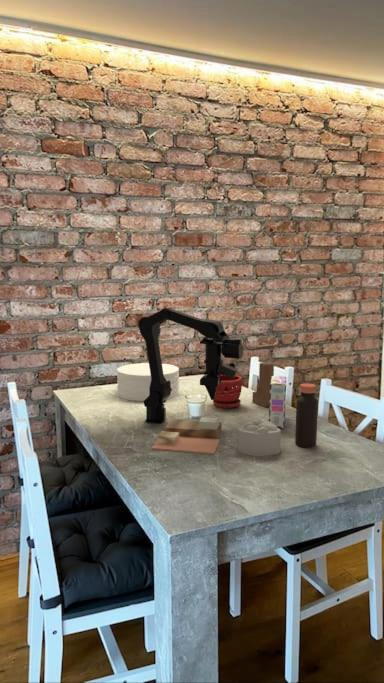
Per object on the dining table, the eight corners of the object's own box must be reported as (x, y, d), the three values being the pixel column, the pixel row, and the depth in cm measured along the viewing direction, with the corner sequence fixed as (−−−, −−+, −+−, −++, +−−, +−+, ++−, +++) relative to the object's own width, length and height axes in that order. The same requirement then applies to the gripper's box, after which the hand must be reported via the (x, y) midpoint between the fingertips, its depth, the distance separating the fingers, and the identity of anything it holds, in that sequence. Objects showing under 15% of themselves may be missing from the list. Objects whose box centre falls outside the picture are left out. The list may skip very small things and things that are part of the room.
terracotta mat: (152, 449, 160) (152, 447, 160) (162, 436, 172) (162, 434, 172) (214, 454, 156) (214, 452, 156) (219, 440, 168) (220, 439, 168)
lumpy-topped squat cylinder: (283, 454, 156) (284, 427, 155) (242, 457, 154) (243, 429, 152) (271, 442, 166) (272, 417, 165) (233, 445, 164) (234, 419, 162)
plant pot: (233, 399, 219) (234, 373, 217) (246, 408, 207) (247, 379, 205) (205, 402, 215) (206, 374, 213) (216, 410, 202) (217, 381, 201)
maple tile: (162, 431, 168) (162, 438, 168) (157, 435, 163) (157, 443, 164) (179, 432, 167) (179, 439, 167) (175, 437, 162) (175, 444, 162)
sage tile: (199, 428, 171) (199, 421, 170) (201, 424, 176) (201, 417, 175) (216, 429, 170) (216, 422, 169) (218, 425, 174) (218, 418, 174)
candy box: (284, 428, 181) (286, 384, 178) (268, 427, 182) (269, 383, 179) (285, 417, 194) (286, 375, 192) (270, 416, 195) (271, 375, 193)
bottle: (290, 442, 166) (293, 383, 163) (307, 439, 169) (310, 381, 166) (303, 449, 160) (305, 388, 157) (320, 446, 163) (323, 386, 160)
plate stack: (145, 383, 249) (145, 360, 248) (190, 391, 233) (191, 367, 232) (104, 394, 227) (104, 370, 225) (151, 405, 211) (151, 378, 209)
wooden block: (252, 402, 216) (253, 360, 213) (260, 400, 218) (261, 360, 215) (264, 407, 208) (265, 364, 205) (273, 406, 210) (274, 363, 207)
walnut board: (165, 436, 172) (165, 427, 172) (172, 426, 182) (172, 418, 181) (217, 439, 168) (217, 431, 168) (221, 430, 178) (221, 422, 178)
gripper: (232, 362, 166) (231, 408, 168) (239, 353, 184) (238, 394, 186) (199, 361, 168) (199, 406, 171) (209, 352, 186) (208, 392, 189)
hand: (212, 399), depth 179 cm, fingers closed
